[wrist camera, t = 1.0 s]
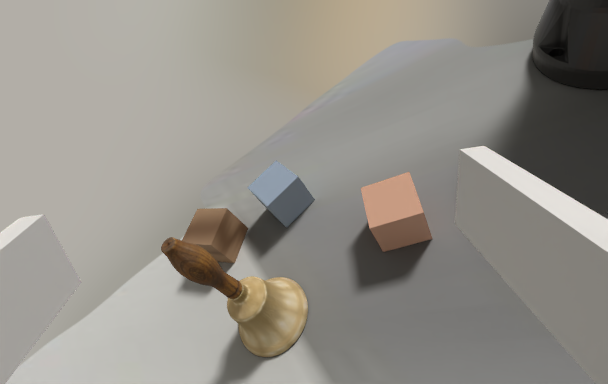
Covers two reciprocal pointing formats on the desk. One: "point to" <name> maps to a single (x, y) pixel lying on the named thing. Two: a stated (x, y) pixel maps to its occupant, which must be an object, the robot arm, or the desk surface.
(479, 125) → the desk surface
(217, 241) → the walnut block
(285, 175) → the slate-blue block
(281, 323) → the hand bell
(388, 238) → the terracotta block
